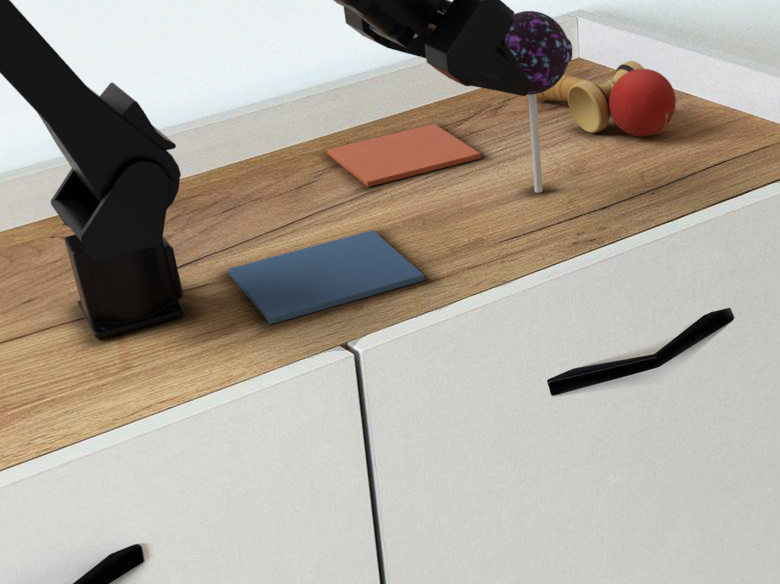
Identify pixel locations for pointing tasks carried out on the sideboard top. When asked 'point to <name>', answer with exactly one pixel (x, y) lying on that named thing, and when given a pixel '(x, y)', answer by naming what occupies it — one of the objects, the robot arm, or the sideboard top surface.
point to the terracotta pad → (402, 154)
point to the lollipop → (538, 65)
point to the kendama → (618, 100)
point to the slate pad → (324, 276)
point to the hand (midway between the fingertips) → (498, 76)
